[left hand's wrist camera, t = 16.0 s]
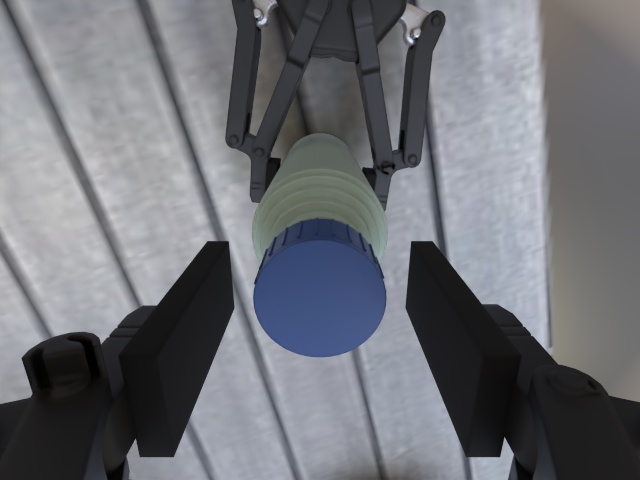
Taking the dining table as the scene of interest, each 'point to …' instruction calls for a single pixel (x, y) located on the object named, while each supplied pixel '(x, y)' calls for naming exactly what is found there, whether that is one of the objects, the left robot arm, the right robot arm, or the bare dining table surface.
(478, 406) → the left robot arm
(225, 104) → the dining table surface
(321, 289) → the cap
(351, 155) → the bottle
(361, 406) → the dining table surface
